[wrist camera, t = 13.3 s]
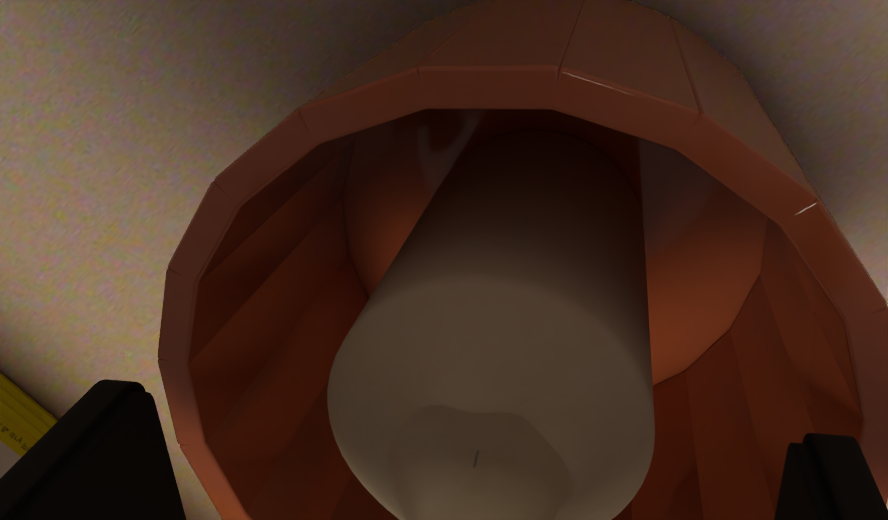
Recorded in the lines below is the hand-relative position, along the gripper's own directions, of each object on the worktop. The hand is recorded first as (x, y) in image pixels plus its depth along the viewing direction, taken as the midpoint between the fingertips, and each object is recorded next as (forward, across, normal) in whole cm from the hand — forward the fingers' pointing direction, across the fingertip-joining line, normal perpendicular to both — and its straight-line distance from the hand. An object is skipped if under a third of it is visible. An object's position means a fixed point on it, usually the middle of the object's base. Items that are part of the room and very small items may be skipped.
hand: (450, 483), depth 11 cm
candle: (+10, 0, 0) cm, 10 cm away
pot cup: (+11, -1, +1) cm, 11 cm away
